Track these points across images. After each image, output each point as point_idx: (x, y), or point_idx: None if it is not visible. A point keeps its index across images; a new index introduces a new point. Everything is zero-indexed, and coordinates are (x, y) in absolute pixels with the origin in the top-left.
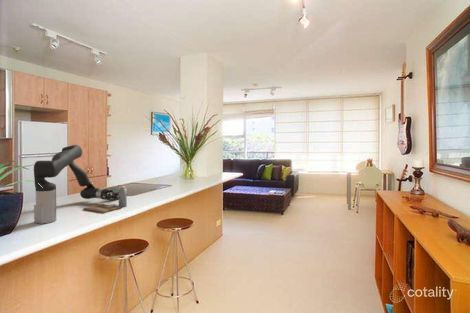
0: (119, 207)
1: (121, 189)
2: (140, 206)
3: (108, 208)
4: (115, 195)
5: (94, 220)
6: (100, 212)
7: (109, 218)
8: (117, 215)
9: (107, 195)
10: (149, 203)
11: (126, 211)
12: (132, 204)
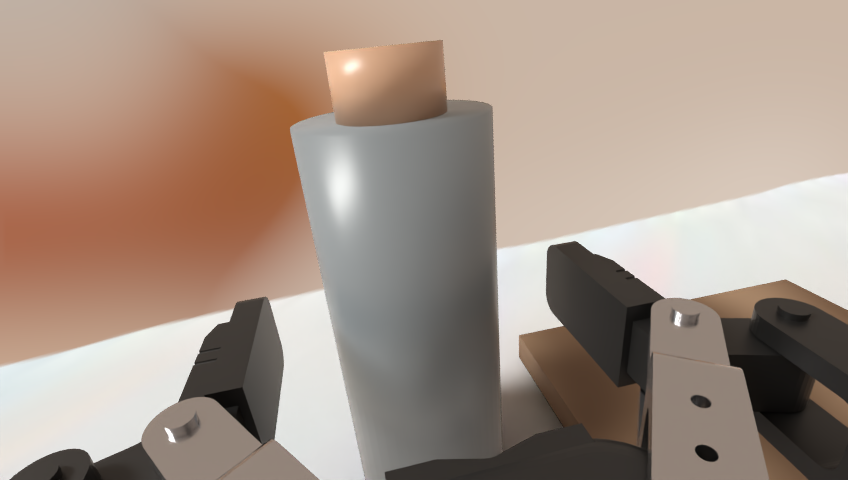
0: (550, 331)
1: (451, 102)
2: (292, 324)
3: None
4: (582, 253)
5: (830, 209)
6: None
7: (704, 206)
8: (633, 225)
9: (837, 319)
10: (86, 374)
11: (524, 263)
12: None
